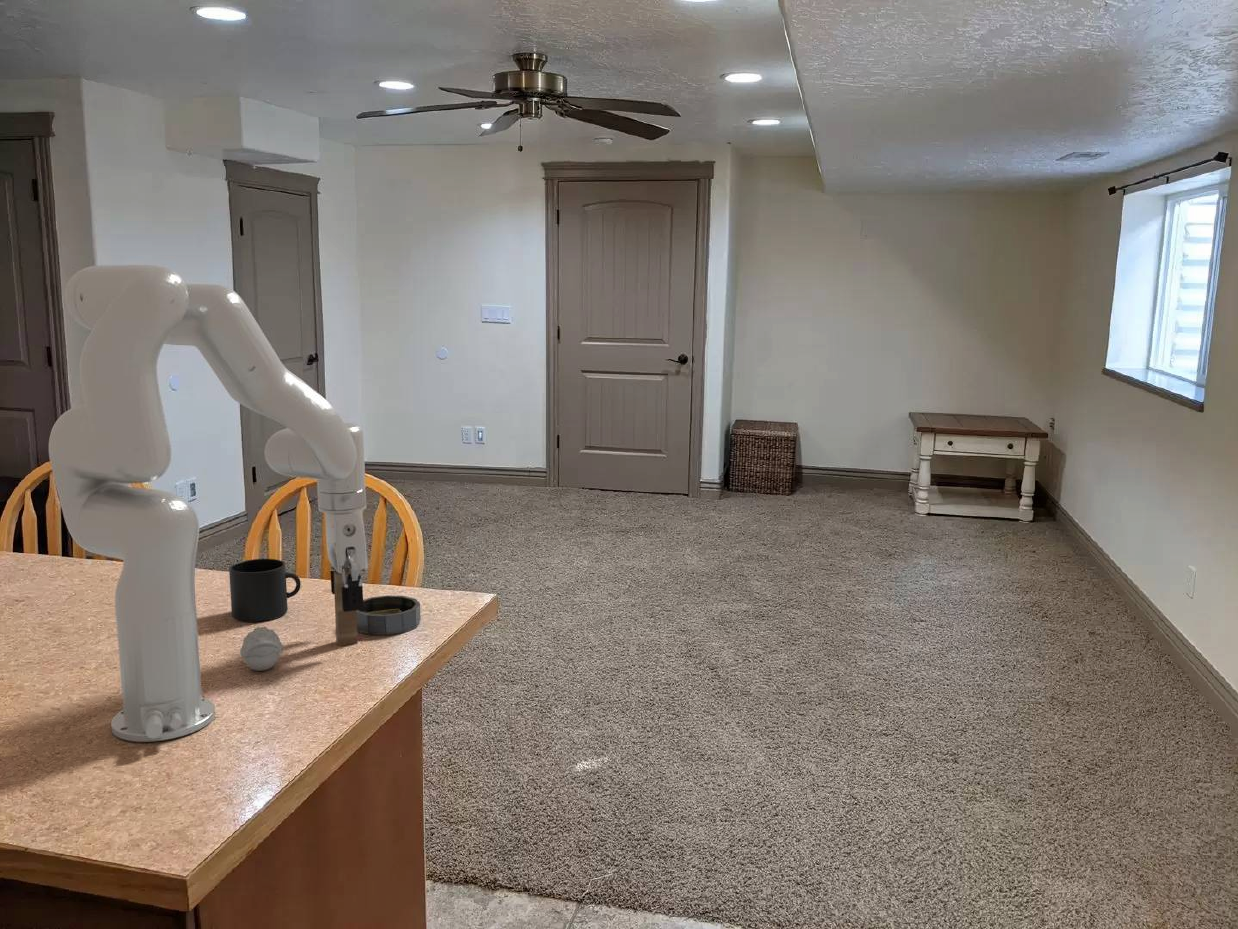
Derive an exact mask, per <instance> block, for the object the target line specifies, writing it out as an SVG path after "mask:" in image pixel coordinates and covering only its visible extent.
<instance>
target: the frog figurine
mask: <svg viewBox="0 0 1238 929" xmlns="http://www.w3.org/2000/svg"><path fill="white" fill-rule="evenodd" d="M282 650H283V643H282V642H281V639H280V637H279V635H278V633H276V632H275V630H274V629H269V628H267V627H266V626H262V627H260V626H258V627H255V628H254V629H253V630H252V631H250V632H248V634H247V635H246V636H245V637H244V639H243V640H242V645H241V648H240V651H239V652H240V655H241V658H242V659H243V660H244V662H245V663H246V665H247V666H248V667H249V668H250V669H252V670H254V671H259V672H263V671H267V670H269V669H271V668H272V667H273V666H275V664H277V662H278V660H279V658H280V654H281V653H282Z"/></svg>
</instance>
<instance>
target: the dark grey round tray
mask: <svg viewBox="0 0 1238 929" xmlns="http://www.w3.org/2000/svg"><path fill="white" fill-rule="evenodd" d="M356 611H357V633H360V634H364V635H368V636H379V637H380V636H393V635H394V636H395V635H400V634H404V633H408V632H411V631H413V630H414V629H415V630H416V628H418V627H419V626H420V623H421V603H420V602H419V600H418V599H417V598H413V597H410V596H406V595H389V594H388V595H382V596H381V595H380V596H373V597H368V598H365V599H364V598H363V609H362V610H356ZM418 625H419V626H418ZM417 626H418V627H417Z"/></svg>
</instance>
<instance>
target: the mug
mask: <svg viewBox="0 0 1238 929" xmlns="http://www.w3.org/2000/svg"><path fill="white" fill-rule="evenodd" d="M286 570H287V566H286V562H285V561H283V560H281V559H275V558H274V559H273V558H256V559H254V558H253V559H248V560H247V559H246V560H241V561H239V562H235V563H233V564H231V565H230V566H229V569H228V571H229V572H228V573H229V574H228V575H229V591H230V593H229V594H230V608H231V609H230V610H231V616H232V619H234V620H236V621H240V622H246V623H259V622H267V621H272V620H276V619H279V618H281V617H283V616H285V615H286V614H287V612H288V607H289V606H288V599H290V598H291V597H294V596H295V595H298V593H299V592H300V589H301V585H302V583H301V579H300V577H299V576H298V574H296V573H293V572H287V571H286ZM287 579H293V580H294V581H295V588H294V589H293V590H292V591H290V592H289V591H287V590H288V589H287V586H288V585H287Z"/></svg>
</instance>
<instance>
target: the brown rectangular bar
mask: <svg viewBox="0 0 1238 929" xmlns="http://www.w3.org/2000/svg"><path fill="white" fill-rule="evenodd" d="M333 571H334V570H333ZM347 576H348V574H346V577H347ZM347 578H348V577H347ZM341 587H344V586H343V581H342V575H341V574H340V573H338V572H337V571H334V594H333V595H334V612H335V613H334V617H335V619H334V620H335V639H336V640H335V641H336V643H337V645H338V646H339V647H342V646H349V645H355V644H358V632H357V611H356V610H355V611H348V612H344V611H343V608H342V588H341Z"/></svg>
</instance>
